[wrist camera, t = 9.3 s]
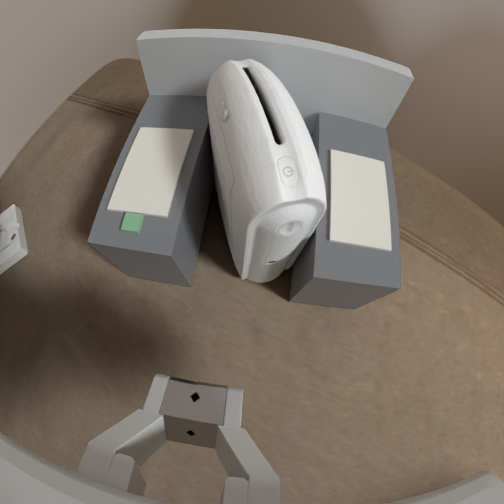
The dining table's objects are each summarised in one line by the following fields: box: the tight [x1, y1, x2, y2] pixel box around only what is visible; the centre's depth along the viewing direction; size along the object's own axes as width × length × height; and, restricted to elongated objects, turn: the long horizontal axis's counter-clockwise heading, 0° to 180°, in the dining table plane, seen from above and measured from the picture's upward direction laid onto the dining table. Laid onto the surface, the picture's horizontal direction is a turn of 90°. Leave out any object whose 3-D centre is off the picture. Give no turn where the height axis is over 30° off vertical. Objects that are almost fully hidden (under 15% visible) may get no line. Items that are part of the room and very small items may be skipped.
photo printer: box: [207, 59, 327, 283], centre depth 17 cm, size 10×4×12 cm, turn 14°
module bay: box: [87, 29, 414, 309], centre depth 17 cm, size 17×13×12 cm
